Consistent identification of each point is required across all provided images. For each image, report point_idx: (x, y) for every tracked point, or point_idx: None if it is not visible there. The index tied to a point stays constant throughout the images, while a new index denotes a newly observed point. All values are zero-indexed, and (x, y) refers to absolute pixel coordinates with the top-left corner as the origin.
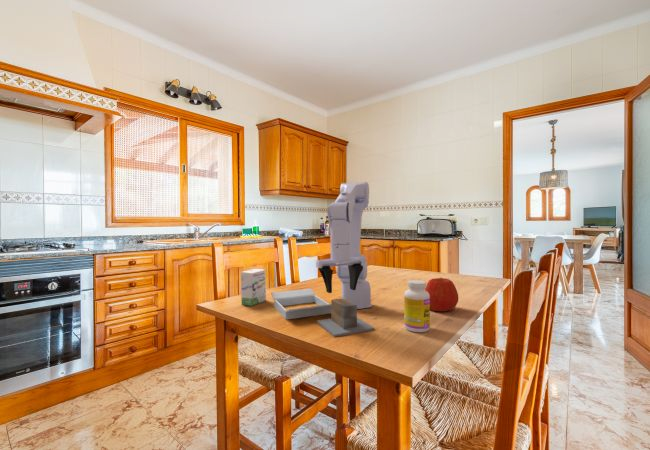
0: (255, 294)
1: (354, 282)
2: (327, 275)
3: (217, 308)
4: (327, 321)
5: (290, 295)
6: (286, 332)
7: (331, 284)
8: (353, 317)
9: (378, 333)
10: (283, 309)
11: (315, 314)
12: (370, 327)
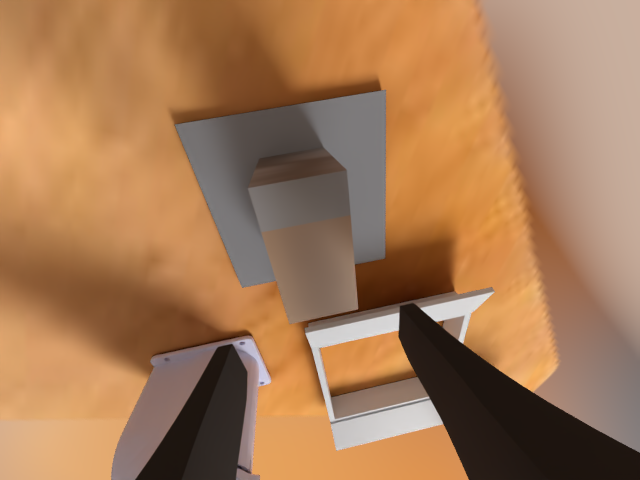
0: None
1: (210, 401)
2: (590, 436)
3: (546, 369)
4: (355, 243)
5: (402, 413)
6: (504, 191)
7: (441, 351)
8: (275, 166)
9: (164, 69)
10: (467, 326)
11: (363, 313)
12: (195, 134)
